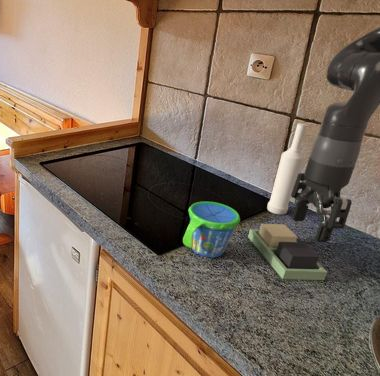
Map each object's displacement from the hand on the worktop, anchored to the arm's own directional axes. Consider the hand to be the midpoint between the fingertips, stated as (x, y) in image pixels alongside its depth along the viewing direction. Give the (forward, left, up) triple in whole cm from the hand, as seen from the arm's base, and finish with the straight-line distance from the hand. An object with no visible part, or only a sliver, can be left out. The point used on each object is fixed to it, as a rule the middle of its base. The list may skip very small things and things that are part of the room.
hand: (308, 230), depth 85 cm
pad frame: (+1, -4, -10) cm, 10 cm away
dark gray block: (+1, 0, -9) cm, 9 cm away
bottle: (-9, -27, -10) cm, 30 cm away
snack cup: (+18, -6, -10) cm, 21 cm away
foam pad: (+1, -8, -9) cm, 12 cm away
